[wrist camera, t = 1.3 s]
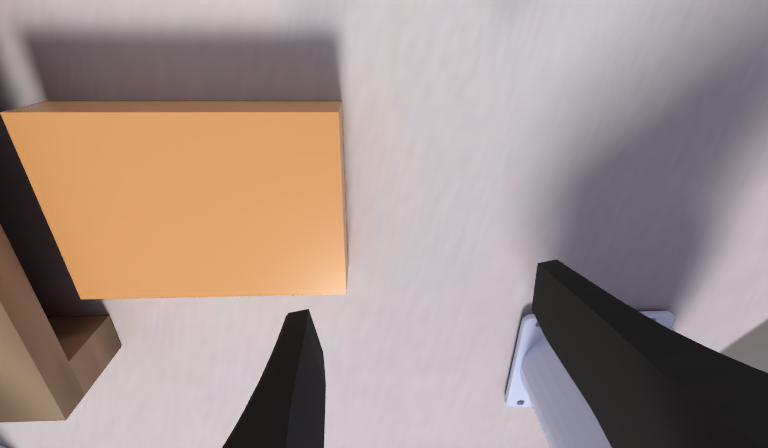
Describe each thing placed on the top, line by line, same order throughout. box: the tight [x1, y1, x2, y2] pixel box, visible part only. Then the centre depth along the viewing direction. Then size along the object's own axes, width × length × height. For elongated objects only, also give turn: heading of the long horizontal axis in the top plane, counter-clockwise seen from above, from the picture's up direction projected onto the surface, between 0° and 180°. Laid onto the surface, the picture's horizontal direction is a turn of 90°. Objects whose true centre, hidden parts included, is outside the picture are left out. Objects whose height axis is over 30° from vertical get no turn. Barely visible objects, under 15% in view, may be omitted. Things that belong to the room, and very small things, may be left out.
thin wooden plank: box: [0, 101, 348, 299], centre depth 18 cm, size 13×9×2 cm
